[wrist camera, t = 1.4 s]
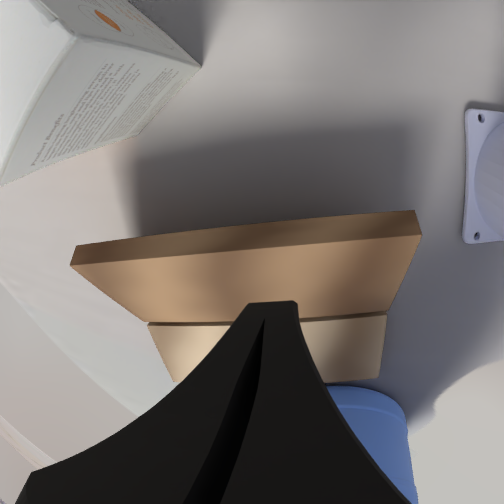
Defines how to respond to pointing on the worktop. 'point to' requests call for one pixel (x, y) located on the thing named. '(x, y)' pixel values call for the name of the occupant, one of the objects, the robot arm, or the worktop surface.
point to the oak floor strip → (315, 333)
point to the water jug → (379, 432)
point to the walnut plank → (257, 267)
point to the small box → (79, 78)
